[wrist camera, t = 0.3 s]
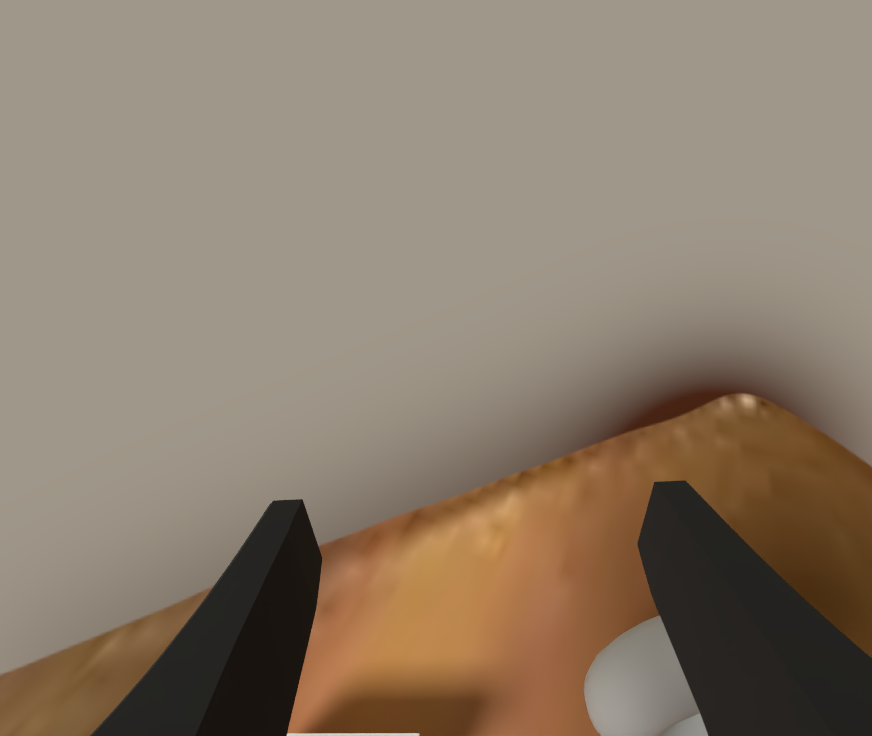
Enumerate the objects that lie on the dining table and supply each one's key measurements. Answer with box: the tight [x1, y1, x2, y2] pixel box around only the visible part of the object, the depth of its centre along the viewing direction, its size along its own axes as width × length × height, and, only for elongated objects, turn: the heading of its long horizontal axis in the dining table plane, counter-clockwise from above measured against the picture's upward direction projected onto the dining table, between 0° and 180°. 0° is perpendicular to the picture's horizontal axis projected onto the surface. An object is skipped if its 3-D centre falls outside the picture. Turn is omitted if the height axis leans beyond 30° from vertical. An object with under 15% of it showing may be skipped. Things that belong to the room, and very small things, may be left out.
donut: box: [584, 615, 708, 736], centre depth 21 cm, size 10×3×10 cm, turn 98°
